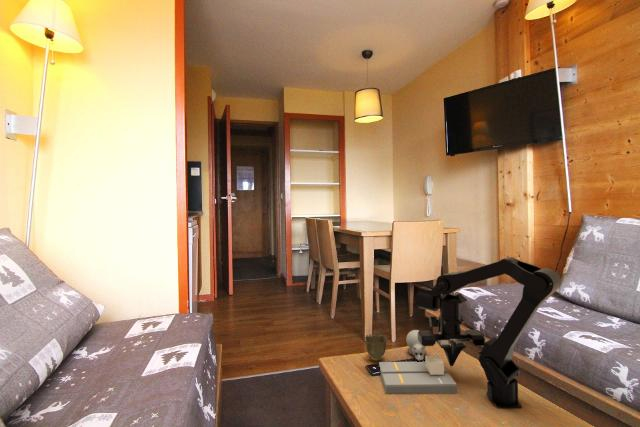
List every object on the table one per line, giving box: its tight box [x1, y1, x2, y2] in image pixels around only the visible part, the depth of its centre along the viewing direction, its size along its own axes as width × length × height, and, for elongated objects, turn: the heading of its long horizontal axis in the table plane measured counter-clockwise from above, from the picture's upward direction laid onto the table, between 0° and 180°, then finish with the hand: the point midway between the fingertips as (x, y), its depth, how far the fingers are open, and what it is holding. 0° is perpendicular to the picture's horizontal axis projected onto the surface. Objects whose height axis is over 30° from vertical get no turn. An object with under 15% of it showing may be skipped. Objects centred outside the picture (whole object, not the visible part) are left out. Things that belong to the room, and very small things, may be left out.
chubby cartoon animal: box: [405, 329, 427, 361], centre depth 117 cm, size 7×12×8 cm, turn 168°
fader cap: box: [424, 355, 445, 375], centre depth 100 cm, size 4×5×4 cm
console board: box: [378, 361, 458, 395], centre depth 101 cm, size 20×14×3 cm
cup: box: [364, 333, 388, 363], centre depth 115 cm, size 8×7×8 cm
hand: (451, 365), depth 100 cm, fingers closed
